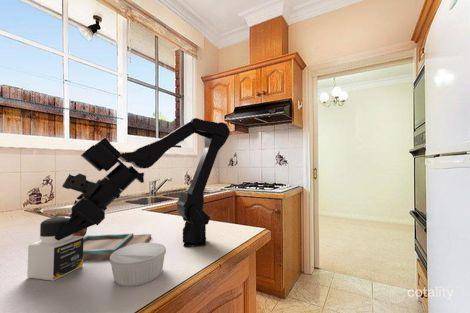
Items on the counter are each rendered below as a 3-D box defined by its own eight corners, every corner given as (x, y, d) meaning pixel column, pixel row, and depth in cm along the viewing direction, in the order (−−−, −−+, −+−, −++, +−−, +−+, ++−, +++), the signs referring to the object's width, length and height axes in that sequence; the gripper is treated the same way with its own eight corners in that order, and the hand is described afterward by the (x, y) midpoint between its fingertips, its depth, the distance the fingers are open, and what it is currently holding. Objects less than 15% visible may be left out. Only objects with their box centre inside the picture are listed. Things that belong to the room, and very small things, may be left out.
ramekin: (105, 295, 41) (106, 266, 41) (112, 269, 51) (112, 246, 51) (168, 282, 45) (168, 256, 45) (163, 261, 55) (163, 239, 56)
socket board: (151, 237, 73) (151, 231, 73) (134, 257, 57) (135, 248, 58) (86, 240, 71) (86, 233, 71) (51, 261, 55) (51, 252, 55)
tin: (49, 237, 74) (50, 212, 75) (60, 235, 77) (60, 210, 78) (79, 243, 69) (79, 215, 69) (89, 240, 72) (89, 213, 72)
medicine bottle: (53, 281, 46) (55, 222, 46) (26, 278, 47) (28, 221, 48) (83, 266, 52) (84, 215, 53) (59, 263, 54) (60, 214, 54)
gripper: (88, 162, 62) (34, 206, 55) (87, 160, 46) (12, 222, 39) (119, 189, 66) (72, 233, 59) (128, 195, 50) (66, 256, 43)
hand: (58, 235), depth 50 cm, fingers closed on medicine bottle, 6 cm apart
